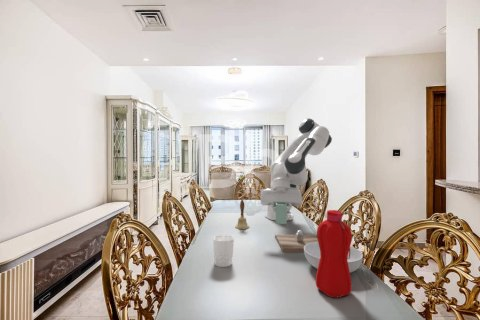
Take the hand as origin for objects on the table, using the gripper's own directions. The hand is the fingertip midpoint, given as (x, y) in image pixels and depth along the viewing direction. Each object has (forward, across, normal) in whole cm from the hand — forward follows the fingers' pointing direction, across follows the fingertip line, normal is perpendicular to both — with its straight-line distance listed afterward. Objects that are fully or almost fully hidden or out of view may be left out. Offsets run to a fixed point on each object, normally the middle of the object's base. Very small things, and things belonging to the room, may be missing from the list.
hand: (281, 212), depth 124 cm
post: (+8, +9, +11) cm, 16 cm away
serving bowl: (+28, +19, -5) cm, 34 cm away
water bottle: (+40, +16, -18) cm, 47 cm away
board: (+10, +9, +12) cm, 18 cm away
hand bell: (-8, -22, +29) cm, 38 cm away
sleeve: (+3, 0, +4) cm, 5 cm away
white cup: (+29, -22, -8) cm, 38 cm away
